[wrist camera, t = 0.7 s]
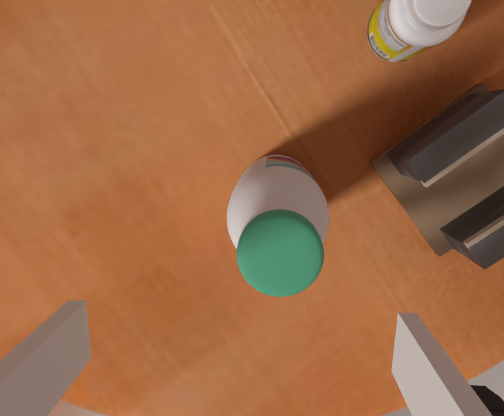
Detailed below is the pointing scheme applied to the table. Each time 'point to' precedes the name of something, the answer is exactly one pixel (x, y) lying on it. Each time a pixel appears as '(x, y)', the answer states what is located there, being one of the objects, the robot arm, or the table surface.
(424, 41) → the supplement bottle
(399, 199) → the clamp block
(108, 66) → the table surface
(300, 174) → the milk bottle
